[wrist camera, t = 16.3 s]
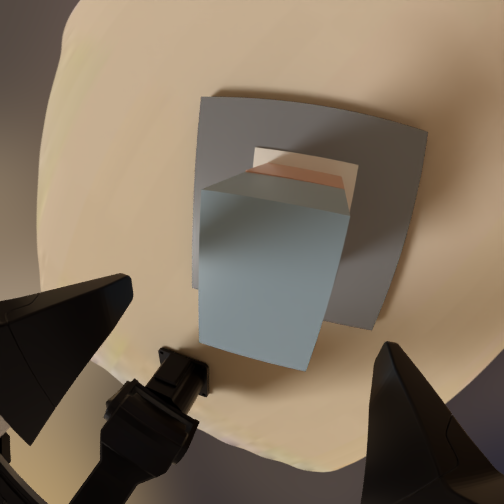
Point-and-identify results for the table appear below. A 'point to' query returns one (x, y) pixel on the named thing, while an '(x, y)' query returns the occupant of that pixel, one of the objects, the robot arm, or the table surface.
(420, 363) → the table surface
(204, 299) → the brick
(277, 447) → the table surface
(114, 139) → the table surface
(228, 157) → the baseplate
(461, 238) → the table surface
